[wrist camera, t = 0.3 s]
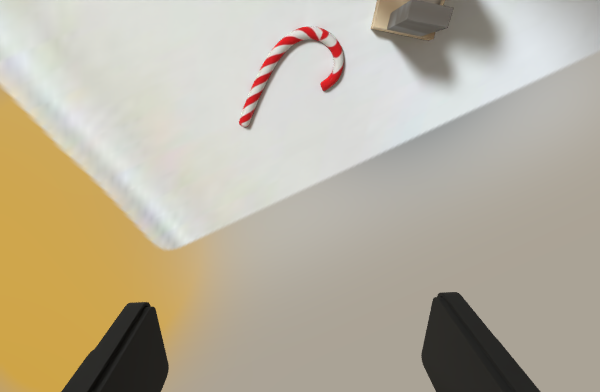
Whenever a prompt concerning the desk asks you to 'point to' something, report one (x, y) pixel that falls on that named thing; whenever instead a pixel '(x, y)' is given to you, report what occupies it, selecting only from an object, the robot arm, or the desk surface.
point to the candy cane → (277, 53)
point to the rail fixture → (411, 17)
